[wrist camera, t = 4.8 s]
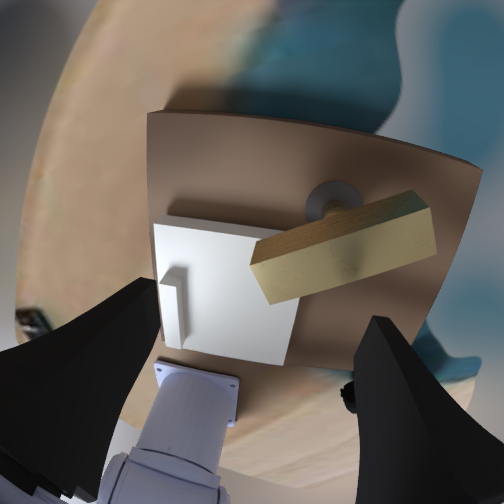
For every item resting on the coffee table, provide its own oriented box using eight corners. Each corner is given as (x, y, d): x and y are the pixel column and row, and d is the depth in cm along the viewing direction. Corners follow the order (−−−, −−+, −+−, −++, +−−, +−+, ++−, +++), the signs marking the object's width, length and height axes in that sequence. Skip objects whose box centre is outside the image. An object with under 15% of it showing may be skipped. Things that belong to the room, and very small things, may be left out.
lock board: (390, 354, 22) (394, 374, 21) (170, 323, 24) (161, 342, 22) (466, 160, 14) (484, 170, 13) (162, 109, 16) (145, 113, 14)
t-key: (412, 251, 15) (441, 303, 11) (294, 287, 17) (291, 347, 13) (394, 172, 13) (429, 207, 9) (262, 217, 16) (249, 265, 12)
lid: (284, 352, 20) (281, 377, 18) (171, 332, 21) (160, 354, 19) (310, 235, 16) (311, 256, 14) (162, 214, 16) (145, 232, 15)
